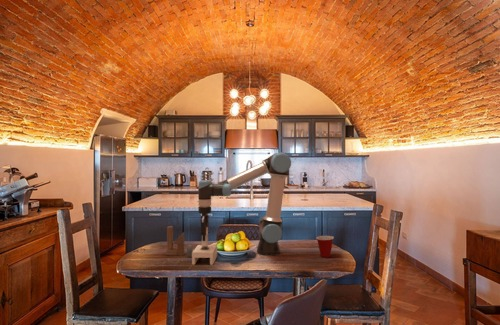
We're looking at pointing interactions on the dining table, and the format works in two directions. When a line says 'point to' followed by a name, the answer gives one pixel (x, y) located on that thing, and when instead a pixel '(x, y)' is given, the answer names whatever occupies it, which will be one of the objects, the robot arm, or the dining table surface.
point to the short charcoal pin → (189, 250)
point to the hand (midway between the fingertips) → (204, 245)
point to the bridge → (204, 253)
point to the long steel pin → (207, 241)
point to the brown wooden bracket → (179, 241)
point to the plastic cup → (325, 245)
